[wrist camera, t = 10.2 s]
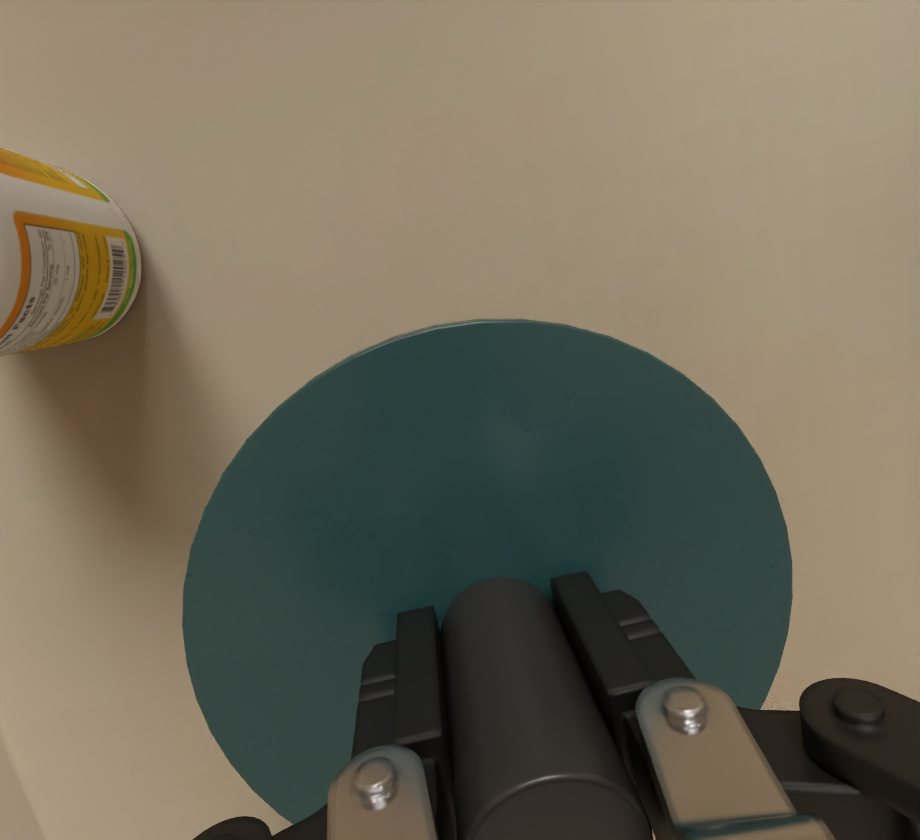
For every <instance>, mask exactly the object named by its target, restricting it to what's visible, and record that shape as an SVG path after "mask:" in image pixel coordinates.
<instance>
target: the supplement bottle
mask: <svg viewBox="0 0 920 840" xmlns="http://www.w3.org/2000/svg"><path fill="white" fill-rule="evenodd" d="M140 280H141V255H140V249H139V245H138V241H137V238H136V236H135V233H134V231H133V229H132V227H131V225H130V223H129V221H128V219H127V218H126V216H125V215H124V213H123V212H122V211H121V209H120V208H119V207H118V206H117V204H116V203H115V202H114V201H113V200H112V199H111V198H110V197H109V196H108V195H107V194H105V193H104V192H103V191H102V190H101V189H99V188H98V187H97V186H95V185H94V184H92V183H91V182H89V181H87V180H86V179H84V178H82V177H80V176H78V175H76V174H74V173H71V172H69V171H66V170H63V169H61V168H58V167H55V166H52V165H49V164H46V163H43V162H40V161H37V160H33V159H30V158H27V157H24V156H21V155H19V154H15V153H12V152H9V151H6V150H3V149H1V148H0V356H3V355H8V354H14V353H20V352H26V351H32V350H38V349H43V348H49V347H55V346H61V345H67V344H72V343H76V342H80V341H84V340H88V339H91V338H94V337H96V336H99V335H101V334H102V333H104V332H106V331H108V330H109V329H111V328H112V327H113V326H114V325H116V324H117V323H118V322H119V321H120V320H121V319H122V318H123V317H124V316H125V314H126V313H127V312H128V310H129V308H130V307H131V305H132V303H133V301H134V299H135V297H136V295H137V292H138V289H139V285H140Z"/></svg>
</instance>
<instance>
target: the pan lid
mask: <svg viewBox="0 0 920 840" xmlns="http://www.w3.org/2000/svg"><path fill="white" fill-rule="evenodd" d="M582 571H587V572H588V574H589V575H590V577H591V578H592V580H593V582H594V583H595V585H596V586H597V588H598V590H599V591H600V593H604V592H609V591H613V590H617V589H619V590H621V591H623V592H625V593H627V594H628V595H630V596H632V597H634V598H636V599H637V600H639V601H640V603H641V604H642V605H643V607H644V608H645V609H646V611H647V612H648V614H649V615H650V617H651V619H653V620H654V622H655V623H656V625H657V626H658V627H659V629H660V632H661V633H663V634H664V636H665V637H666V638H667V640H668V641H669V642H670V644H671V645H672V646H673V648H674V649H675V651H676V652H677V653H678V655H679V656H680V657H681V659H682V660H683V662H684V663H685V664H686V666H687V667H688V668H689V670H690V671H691V673H692V674H693V675H694V677H695V678H696V679H698V680H702V681H705V682H708V683H710V684H712V685H714V686H716V687H718V688H719V689H721V690H722V691H724V692H725V693H726V694H727V695H728V696H729V697H730V698H731V700H732V701H733V703H734V704H735V706H739V707H743V708H748V709H755V710H760V708H761V707H762V705H763V703H764V701H765V699H766V697H767V695H768V692H769V690H770V687H771V685H772V682H773V680H774V678H775V675H776V673H777V670H778V668H779V665H780V661H781V657H782V653H783V650H784V646H785V642H786V638H787V634H788V629H789V621H790V613H791V605H792V559H791V552H790V546H789V539H788V533H787V527H786V523H785V520H784V517H783V514H782V510H781V507H780V504H779V500H778V497H777V494H776V491H775V489H774V487H773V485H772V483H771V481H770V479H769V476H768V474H767V472H766V470H765V468H764V466H763V464H762V462H761V460H760V458H759V456H758V455H757V453H756V452H755V450H754V449H753V447H752V446H751V444H750V443H749V441H748V440H747V438H746V437H745V435H744V434H743V432H742V431H741V429H740V428H739V427H738V425H737V424H736V423H735V422H734V421H733V420H732V419H731V418H730V417H729V416H728V414H727V413H726V412H725V411H724V410H723V409H722V408H721V407H720V406H719V405H718V403H717V402H716V401H715V400H714V399H713V398H712V397H710V396H709V395H708V394H707V393H706V392H704V391H703V390H702V389H701V388H699V387H698V386H697V385H696V384H695V383H693V382H692V381H691V380H690V379H689V378H687V377H686V376H685V375H684V374H682V373H681V372H679V371H677V370H676V369H674V368H672V367H671V366H669V365H667V364H666V363H664V362H662V361H661V360H659V359H658V358H656V357H654V356H653V355H651V354H649V353H648V352H645V351H643V350H640V349H638V348H636V347H633V346H631V345H629V344H626V343H624V342H622V341H619V340H617V339H614V338H612V337H610V336H606V335H603V334H599V333H595V332H591V331H588V330H584V329H580V328H576V327H573V326H569V325H565V324H559V323H551V322H543V321H535V320H527V319H474V320H467V321H460V322H453V323H446V324H439V325H433V326H430V327H426V328H423V329H419V330H416V331H412V332H409V333H405V334H402V335H398V336H394V337H391V338H389V339H387V340H384V341H382V342H380V343H377V344H375V345H373V346H371V347H368V348H366V349H364V350H361V351H359V352H357V353H354V354H352V355H350V356H349V357H347V358H345V359H344V360H342V361H340V362H339V363H337V364H335V365H334V366H332V367H330V368H329V369H327V370H325V371H324V372H322V373H320V374H319V375H317V376H315V377H314V378H313V379H312V380H310V381H309V382H308V383H307V384H305V385H304V386H303V387H302V388H300V389H299V390H298V391H297V392H295V393H294V394H293V395H292V396H290V397H289V398H288V399H287V400H285V401H284V402H283V403H282V404H280V405H279V406H278V407H277V408H276V409H275V410H274V411H273V412H272V413H271V415H270V416H269V417H268V418H267V419H266V420H265V421H264V422H263V423H262V424H261V425H260V426H259V427H258V428H257V429H256V430H255V431H254V432H253V433H252V435H251V436H250V437H249V438H248V439H247V440H246V442H245V443H244V444H243V446H242V447H241V449H240V450H239V451H238V453H237V454H236V456H235V457H234V458H233V460H232V461H231V463H230V464H229V465H228V467H227V468H226V470H225V471H224V472H223V474H222V476H221V478H220V480H219V482H218V484H217V486H216V488H215V489H214V491H213V493H212V495H211V497H210V499H209V501H208V503H207V505H206V507H205V509H204V511H203V514H202V517H201V520H200V523H199V526H198V529H197V531H196V534H195V537H194V540H193V543H192V546H191V549H190V555H189V560H188V566H187V571H186V576H185V582H184V589H183V618H182V627H183V636H184V644H185V653H186V661H187V666H188V670H189V674H190V677H191V681H192V685H193V688H194V692H195V696H196V699H197V702H198V704H199V706H200V708H201V711H202V713H203V715H204V718H205V720H206V722H207V724H208V727H209V729H210V731H211V733H212V735H213V736H214V738H215V740H216V741H217V743H218V744H219V746H220V748H221V749H222V751H223V752H224V754H225V756H226V757H227V759H228V760H229V762H230V763H231V765H232V766H233V767H234V768H235V769H236V771H237V772H238V773H239V774H240V775H241V777H242V778H243V779H244V780H245V781H246V783H247V784H248V785H249V786H250V787H251V789H252V790H253V791H254V792H255V793H256V794H258V795H259V796H260V797H261V798H262V799H263V800H264V801H265V802H266V803H267V804H269V805H270V806H271V807H272V808H273V809H274V810H275V811H276V812H277V813H278V814H280V815H281V816H283V817H284V818H285V819H287V820H288V821H290V822H291V823H293V824H296V823H298V822H300V821H302V820H303V819H305V818H307V817H309V816H310V815H312V814H314V813H315V812H316V811H318V810H319V809H321V808H322V807H323V806H324V805H325V804H326V803H328V792H329V789H330V785H331V783H332V781H333V779H334V778H335V776H336V775H337V773H338V772H339V771H340V770H341V768H342V767H343V766H344V765H345V764H346V763H348V762H349V761H350V760H351V755H352V747H353V739H354V731H355V723H356V715H357V706H358V703H359V699H358V698H359V690H360V686H361V683H360V682H361V674H362V666H363V662H364V661H365V659H366V658H367V656H368V655H369V653H370V652H371V650H372V649H373V647H374V646H375V645H376V644H380V643H385V642H389V641H393V640H396V630H397V614H398V613H400V612H405V611H409V610H414V609H418V608H422V607H427V606H431V605H433V606H434V609H435V612H436V616H437V620H438V625H439V629H440V634H441V645H442V657H443V668H444V680H445V691H446V703H447V714H448V726H449V737H450V748H451V760H452V771H453V793H454V805H455V816H456V828H457V840H653V836H652V828H651V824H650V820H649V818H648V816H647V813H646V811H645V809H644V806H643V804H642V802H641V800H640V798H639V795H638V793H637V791H636V789H635V786H634V784H633V782H632V780H631V777H630V775H629V773H628V771H627V769H626V766H625V764H624V762H623V760H622V757H621V755H620V753H619V751H618V748H617V746H616V744H615V742H614V740H613V737H612V735H611V733H610V731H609V728H608V726H607V724H606V722H605V719H604V717H603V715H602V713H601V711H600V708H599V706H598V704H597V702H596V699H595V697H594V695H593V693H592V690H591V688H590V686H589V684H588V682H587V679H586V677H585V675H584V673H583V670H582V668H581V666H580V664H579V661H578V659H577V657H576V655H575V653H574V650H573V648H572V646H571V644H570V641H569V639H568V637H567V635H566V632H565V630H564V628H563V626H562V623H561V621H560V619H559V617H558V615H557V612H556V610H555V606H554V601H553V595H552V590H551V578H555V577H560V576H564V575H568V574H573V573H577V572H582Z"/></svg>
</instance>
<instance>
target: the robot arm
mask: <svg viewBox="0 0 920 840" xmlns="http://www.w3.org/2000/svg"><path fill="white" fill-rule="evenodd" d="M551 590H552V595H553V601H554V606H555V610H556V612H557V615H558V617H559V619H560V621H561V623H562V626H563V628H564V630H565V632H566V635H567V637H568V639H569V641H570V644H571V646H572V648H573V650H574V653H575V655H576V657H577V659H578V661H579V664H580V666H581V668H582V670H583V673H584V675H585V677H586V679H587V682H588V684H589V686H590V688H591V690H592V693H593V695H594V697H595V699H596V702H597V704H598V706H599V708H600V711H601V713H602V715H603V717H604V719H605V722H606V724H607V726H608V728H609V731H610V733H611V735H612V737H613V740H614V742H615V744H616V746H617V748H618V751H619V753H620V755H621V757H622V760H623V762H624V764H625V766H626V769H627V771H628V773H629V775H630V777H631V780H632V782H633V784H634V786H635V789H636V791H637V793H638V795H639V798H640V800H641V802H642V804H643V806H644V809H645V811H646V813H647V816H648V818H649V820H650V824H651V828H652V830H653V832H654V834H655V838H656V840H920V702H918V701H916V700H913V699H911V698H909V697H906V696H904V695H902V694H899V693H897V692H895V691H892V690H890V689H888V688H885V687H883V686H880V685H877V684H875V683H871V682H867V681H863V680H858V679H850V678H833V679H826V680H822V681H818V682H816V683H814V684H812V685H810V686H809V687H807V688H806V689H805V690H804V691H803V693H802V695H801V697H800V701H799V708H800V711H783V710H755V709H748V708H743V707H739V706H735V704H734V703H733V701H732V700H731V698H730V697H729V696H728V695H727V694H726V693H725V692H724V691H722V690H721V689H719V688H718V687H716V686H714V685H712V684H710V683H708V682H705V681H702V680H698V679H696V678H695V677H694V675H693V674H692V673H691V671H690V670H689V668H688V667H687V666H686V664H685V663H684V662H683V660H682V659H681V657H680V656H679V655H678V653H677V652H676V651H675V649H674V648H673V646H672V645H671V644H670V642H669V641H668V640H667V638H666V637H665V636H664V634H663V633H661V632H660V629H659V627H658V626H657V625H656V623H655V622H654V620H653V619H651V617H650V615H649V614H648V612H647V611H646V609H645V608H644V607H643V605H642V604H641V603H640V601H639V600H637V599H636V598H634V597H632V596H630V595H628V594H627V593H625V592H623V591H621V590H619V589H617V590H613V591H609V592H604V593H600V591H599V590H598V588H597V586H596V585H595V583H594V582H593V580H592V578H591V577H590V575H589V574H588V572H587V571H582V572H577V573H573V574H568V575H564V576H560V577H555V578H551ZM360 683H361V686H360V690H359V698H358V699H359V703H358V706H357V715H356V723H355V731H354V739H353V747H352V755H351V760H350V761H349V762H348V763H346V764H345V765H344V766H343V767H342V768H341V770H340V771H339V772H338V773H337V775H336V776H335V778H334V779H333V781H332V783H331V785H330V789H329V792H328V803H326V804H325V805H324V806H323V807H322V808H321V809H319V810H318V811H316V812H315V813H314V814H312V815H310V816H309V817H307V818H305V819H303V820H302V821H300V822H298V823H296V824H294V825H292V826H290V827H288V828H286V829H284V830H282V831H281V832H279V833H277V834H275V835H273V836H272V835H271V832H270V830H269V827H268V826H267V825H266V824H265V823H264V822H263V821H261V820H260V819H257V818H254V817H248V816H244V817H236V818H231V819H228V820H225V821H222V822H220V823H218V824H216V825H214V826H212V827H210V828H208V829H207V830H205V831H204V832H202V833H201V834H199V835H198V836H197V837H195V838H194V839H193V840H457V828H456V816H455V805H454V793H453V771H452V760H451V748H450V737H449V726H448V714H447V703H446V691H445V680H444V668H443V657H442V645H441V634H440V629H439V625H438V620H437V616H436V612H435V609H434V606H433V605H431V606H427V607H422V608H418V609H414V610H409V611H405V612H400V613H398V614H397V630H396V640H393V641H389V642H385V643H380V644H376V645H375V646H374V647H373V649H372V650H371V652H370V653H369V655H368V656H367V658H366V659H365V661H364V662H363V666H362V674H361V682H360Z"/></svg>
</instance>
